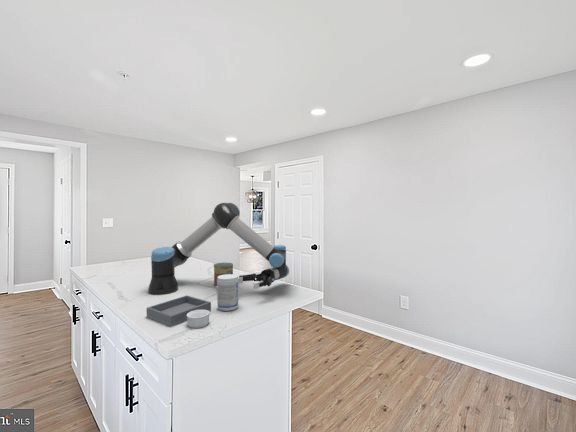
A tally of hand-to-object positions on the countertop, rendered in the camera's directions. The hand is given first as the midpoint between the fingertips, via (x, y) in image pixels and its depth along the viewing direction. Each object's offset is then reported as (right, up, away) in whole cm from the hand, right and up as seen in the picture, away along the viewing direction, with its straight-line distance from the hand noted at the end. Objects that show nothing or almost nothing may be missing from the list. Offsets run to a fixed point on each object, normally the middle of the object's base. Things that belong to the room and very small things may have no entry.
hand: (243, 284), depth 138 cm
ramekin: (-14, -10, -26) cm, 31 cm away
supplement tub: (-6, -9, -9) cm, 14 cm away
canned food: (-17, -8, +31) cm, 36 cm away
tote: (-25, -9, -16) cm, 31 cm away
